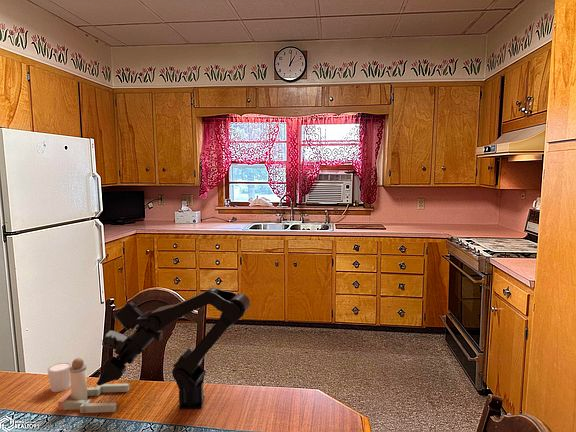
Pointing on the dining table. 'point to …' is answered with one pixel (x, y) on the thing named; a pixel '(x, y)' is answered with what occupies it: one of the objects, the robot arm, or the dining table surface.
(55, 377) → the shot glass
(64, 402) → the rack
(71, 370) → the pepper mill
